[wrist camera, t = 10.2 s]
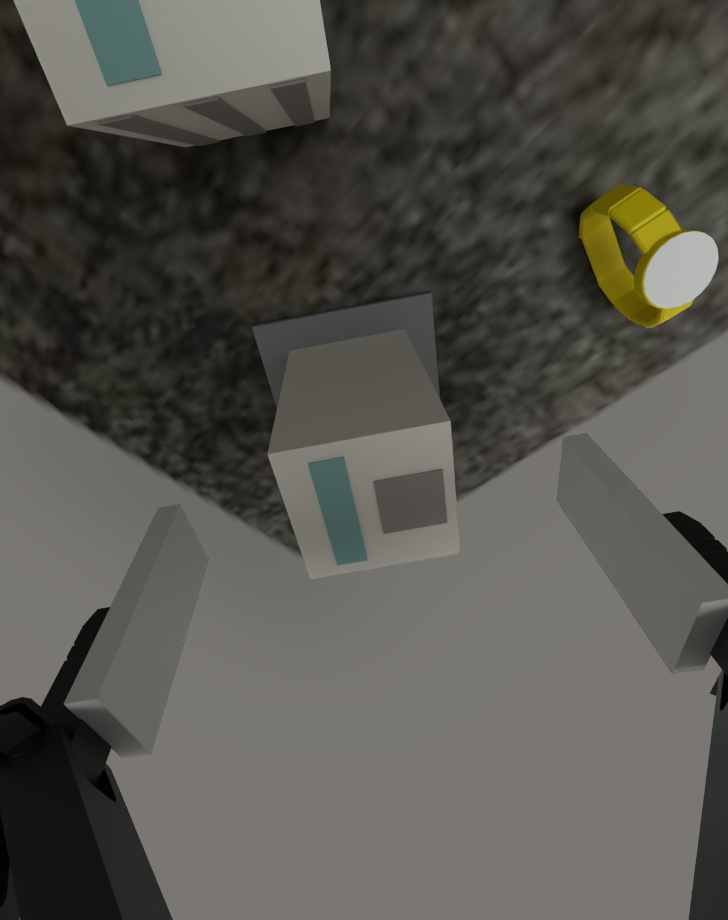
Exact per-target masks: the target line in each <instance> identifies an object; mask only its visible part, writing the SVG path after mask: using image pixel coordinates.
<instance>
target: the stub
mask: <svg viewBox="0 0 728 920" xmlns="http://www.w3.org/2000/svg"><path fill="white" fill-rule="evenodd" d="M267 455H268V457H269V460H270V463H271V466H272V469H273V472H274V475H275V478H276V481H277V483H278V486H279V489H280V492H281V495H282V498H283V501H284V504H285V507H286V510H287V512H288V515H289V518H290V521H291V524H292V527H293V530H294V533H295V536H296V539H297V541H298V544H299V547H300V550H301V553H302V556H303V559H304V562H305V564H306V567H307V570H308V573H309V576H310V579H316V578H321V577H327V576H332V575H339V574H345V573H350V572H356V571H362V570H368V569H373V568H379V567H385V566H391V565H397V564H402V563H408V562H414V561H420V560H425V559H431V558H437V557H443V556H448V555H454V554H460V546H459V533H458V518H457V504H456V490H455V476H454V462H453V448H452V434H451V421H450V419H449V417H448V415H447V413H446V411H445V409H444V407H443V405H442V403H441V401H440V399H439V397H438V395H437V393H436V390H435V388H434V386H433V384H432V382H431V380H430V378H429V376H428V374H427V372H426V370H425V368H424V366H423V364H422V362H421V360H420V358H419V356H418V354H417V352H416V350H415V348H414V346H413V344H412V342H411V340H410V338H409V336H408V334H407V332H406V330H405V329H402V330H397V331H391V332H386V333H381V334H376V335H370V336H365V337H360V338H355V339H350V340H344V341H339V342H334V343H329V344H323V345H318V346H313V347H308V348H302V349H297V350H292V351H289V355H288V360H287V365H286V370H285V374H284V379H283V384H282V388H281V393H280V398H279V402H278V407H277V412H276V416H275V421H274V426H273V430H272V435H271V440H270V444H269V449H268V454H267Z"/></svg>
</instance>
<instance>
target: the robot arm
mask: <svg viewBox="0 0 728 920" xmlns="http://www.w3.org/2000/svg"><path fill="white" fill-rule="evenodd" d="M557 502H558V503H559V505H560V506H561V508H562V509H563V511H564V512H565V514H566V515H567V517H568V518H569V520H570V521H571V523H572V524H573V526H574V527H575V529H576V530H577V532H578V533H579V535H580V536H581V538H582V539H583V541H584V542H585V544H586V545H587V547H588V548H589V550H590V551H591V553H592V554H593V556H594V557H595V559H596V560H597V562H598V563H599V565H600V566H601V568H602V569H603V571H604V572H605V574H606V575H607V577H608V578H609V580H610V581H611V583H612V584H613V586H614V587H615V589H616V590H617V592H618V593H619V595H620V596H621V598H622V599H623V601H624V602H625V604H626V605H627V607H628V608H629V610H630V611H631V613H632V614H633V616H634V617H635V619H636V620H637V622H638V623H639V625H640V626H641V628H642V629H643V631H644V632H645V634H646V635H647V637H648V638H649V640H650V641H651V643H652V644H653V646H654V647H655V649H656V650H657V652H658V653H659V655H660V657H661V658H662V659H663V661H664V663H665V664H666V666H667V667H668V668H669V670H670V671H671V673H672V674H675V673H682V672H688V671H695V670H702V669H704V668H705V666H706V664H707V662H708V660H709V658H710V656H712V657H713V658H714V659H715V661H716V662H717V663H718V665H719V666H720V667H721V669H722V671H721V673H720V675H719V676H718V678H717V681H716V682H715V684H714V686H713V688H712V690H711V692H710V694H713V695H715V696H716V694H717V696H716V704H715V713H714V720H713V728H712V736H711V745H710V753H709V761H708V768H707V776H706V785H705V794H704V801H703V809H702V817H701V825H700V833H699V841H698V849H697V858H696V865H695V874H694V882H693V890H692V898H691V906H690V914H689V920H728V552H727V549H726V548H725V547H724V546H723V545H722V544H721V543H720V542H719V541H718V540H715V537H714V536H713V535H712V534H711V533H710V532H709V531H708V530H707V529H706V528H705V527H704V526H703V525H702V524H701V523H700V522H698V521H696V520H694V519H693V518H691V517H689V516H687V515H685V514H684V513H682V512H679V511H678V512H672V513H667V514H661V513H660V512H659V510H658V509H657V508H656V507H655V506H654V505H653V504H652V503H651V502H650V501H649V500H648V499H647V498H646V496H644V494H643V493H642V492H641V491H640V490H639V489H638V488H637V487H636V486H635V485H634V484H633V483H632V481H631V480H630V479H629V478H628V477H627V476H626V475H625V474H624V473H623V472H622V471H621V470H620V469H619V468H618V467H617V465H616V464H615V463H614V462H613V461H612V460H611V459H610V458H609V457H608V456H607V455H606V454H605V453H604V452H603V451H602V450H601V448H600V447H599V446H598V445H597V444H596V443H595V442H594V441H593V440H592V439H591V438H590V437H589V435H588V434H587V433H586V434H580V435H574V436H568V437H564V438H563V445H562V455H561V464H560V474H559V483H558V493H557ZM208 560H209V559H208V557H207V555H206V553H205V551H204V550H203V547H202V546H201V544H200V542H199V540H198V538H197V536H196V534H195V532H194V530H193V528H192V527H191V525H190V523H189V521H188V519H187V517H186V516H185V513H184V512H183V509H182V508H181V506H180V505H173V506H167V507H162V508H158V509H157V512H156V514H155V516H154V518H153V520H152V522H151V524H150V526H149V528H148V530H147V532H146V534H145V537H144V538H143V541H142V543H141V545H140V547H139V549H138V551H137V553H136V555H135V557H134V559H133V561H132V563H131V566H130V567H129V569H128V572H127V574H126V576H125V578H124V580H123V582H122V584H121V586H120V588H119V590H118V592H117V594H116V596H115V599H114V601H113V603H112V605H111V607H108V608H101V609H98V610H97V611H96V612H95V613H94V614H93V615H92V616H91V618H90V619H89V620H88V621H87V622H86V623H85V624H84V625H83V627H82V629H81V631H80V633H79V635H78V637H77V638H76V640H75V642H74V644H75V645H74V646H72V648H71V650H70V652H69V654H68V656H67V661H65V662H64V664H63V665H62V667H61V669H60V671H59V673H58V675H57V677H56V679H55V681H54V683H53V684H52V686H51V688H50V690H49V692H48V694H47V696H46V698H45V700H44V702H43V704H42V706H41V707H40V706H39V705H38V704H37V703H36V702H34V701H33V700H32V699H30V698H24V697H21V698H18V699H14V700H11V701H9V702H7V703H5V704H3V705H2V706H0V920H19V916H20V920H173V919H172V917H171V915H170V912H169V910H168V907H167V905H166V902H165V900H164V897H163V895H162V893H161V890H160V888H159V885H158V883H157V881H156V878H155V875H154V873H153V871H152V868H151V866H150V863H149V861H148V858H147V856H146V854H145V851H144V849H143V846H142V844H141V841H140V839H139V836H138V834H137V831H136V829H135V827H134V824H133V822H132V819H131V817H130V814H129V812H128V809H127V807H126V805H125V802H124V800H123V797H122V795H121V792H120V790H119V788H118V785H117V783H116V780H115V778H114V775H113V773H112V770H111V769H110V767H109V766H108V765H107V764H106V761H107V758H108V755H109V752H110V750H111V748H112V749H113V750H114V751H115V752H116V753H117V754H118V755H119V756H121V757H122V758H126V757H132V756H139V755H145V754H151V753H152V749H153V746H154V743H155V739H156V736H157V733H158V729H159V725H160V722H161V719H162V716H163V712H164V709H165V706H166V702H167V699H168V695H169V692H170V689H171V685H172V682H173V679H174V675H175V672H176V668H177V665H178V662H179V658H180V655H181V651H182V648H183V645H184V641H185V638H186V634H187V631H188V628H189V624H190V621H191V617H192V614H193V611H194V608H195V604H196V600H197V597H198V594H199V591H200V587H201V584H202V580H203V577H204V574H205V570H206V567H207V563H208Z"/></svg>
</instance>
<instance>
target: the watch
mask: <svg viewBox="0 0 728 920" xmlns="http://www.w3.org/2000/svg"><path fill="white" fill-rule="evenodd" d="M609 217H610V218H612V219H613V220H614V221H615V222H616V223H617V224H618V225H619V226H620V227H621V228H623V229H624V230H625V231H626V232H627V233H628V234H629V235H631V238H632V239H633V241H634V242H635V244H636V245H637V247H638V248H639V250H640V251H641V253H642V254H643V255H642V257H641V258H640V261H639V263H638V265H637V267H636V270H635V276H633V275H632V273H631V272H630V271H629V269H628V268H627V267H626V266H625V263H624V260H623V257H622V254H621V251H620V248H619V245H618V242H617V239H616V236H615V233H614V230H613V227H612V224H611V221H610V218H609ZM578 236H579V238H581V239H582V242H583V245H584V247H585V250H586V253H587V255H588V258H589V261H590V263H591V266H592V269H593V271H594V274H595V277H596V279H597V282H598V285H599V287H600V288H601V289H602V291H603V292H604V294H605V295H606V296H607V298H608V299H609V300H610V302H611V303H612V304H614V306H615V307H616V308H617V309H618V310H619V311H620V312H621V313H622V314H623V315H625V316H626V317H627V318H628V319H629V320H631V321H632V322H635V323H637V324H640V325H642V326H644V327H648V328H652V327H654V326H656V325H659V324H661V323H663V322H664V321H666V320H668V319H669V318H671V317H673V316H674V315H676V314H678V313H679V312H681V311H683V310H684V309H686V308H688V307H689V306H691V304H692V303H693V299H694V298H695V297H697V296H698V295H699V294H701V292H702V291H703V290H704V289H705V288H706V286H707V285H708V284H709V283H710V281H711V279H712V277H713V275H714V273H715V271H716V267H717V263H718V248H717V246H716V244H715V242H714V240H713V239H712V238H711V237H710V236H708V235H707V234H706V233H703V232H699V231H694V230H685V229H684V230H682V229H681V228H680V226H679V225H678V223H677V222H676V220H675V218H674V217H673V215H672V214H671V212H670V211H669V210H666V206H665V205H663V204H662V203H661V202H660V201H658V200H657V199H656V198H655V197H653V196H652V195H651V194H650V193H649V192H647V191H646V190H644V189H642V188H639V187H634V186H628V185H623V184H621V185H618V186H616V187H615V188H613V189H612V190H611V191H609V192H608V193H606V194H605V195H603V196H602V197H601V198H599V199H598V200H596V201H595V202H593V203H592V204H591V205H590V206H588V207H587V208H586V209H585V210H584V211H583V212H582V213H581V216H580V225H579V235H578Z"/></svg>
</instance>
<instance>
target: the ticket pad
mask: <svg viewBox="0 0 728 920" xmlns="http://www.w3.org/2000/svg"><path fill="white" fill-rule="evenodd" d="M14 3H15V5H16V7H17V10H18V12H19V14H20V17H21V19H22V21H23V24H24V26H25V28H26V31H27V33H28V35H29V38H30V40H31V42H32V45H33V47H34V49H35V52H36V54H37V56H38V59H39V61H40V63H41V66H42V68H43V70H44V73H45V75H46V77H47V80H48V82H49V84H50V87H51V89H52V91H53V94H54V96H55V98H56V101H57V103H58V105H59V108H60V110H61V112H62V115H63V117H64V119H65V122H66V124H67V126H73V127H78V128H84V129H89V130H94V131H100V132H105V133H111V134H116V135H122V136H127V137H133V138H138V139H144V140H149V141H155V142H160V143H166V144H171V145H176V146H182V147H190V146H195V145H197V146H203V145H208V144H213V143H218V142H219V140H224V139H229V138H234V137H239V136H244V135H246V136H252V135H257V134H262V133H267V131H268V130H273V129H278V128H283V127H288V126H292V125H295V126H301V125H306V124H311V123H315V121H317V120H322V119H327V118H329V111H330V82H331V68H330V62H329V55H328V49H327V43H326V37H325V30H324V24H323V18H322V11H321V5H320V0H14Z"/></svg>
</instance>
